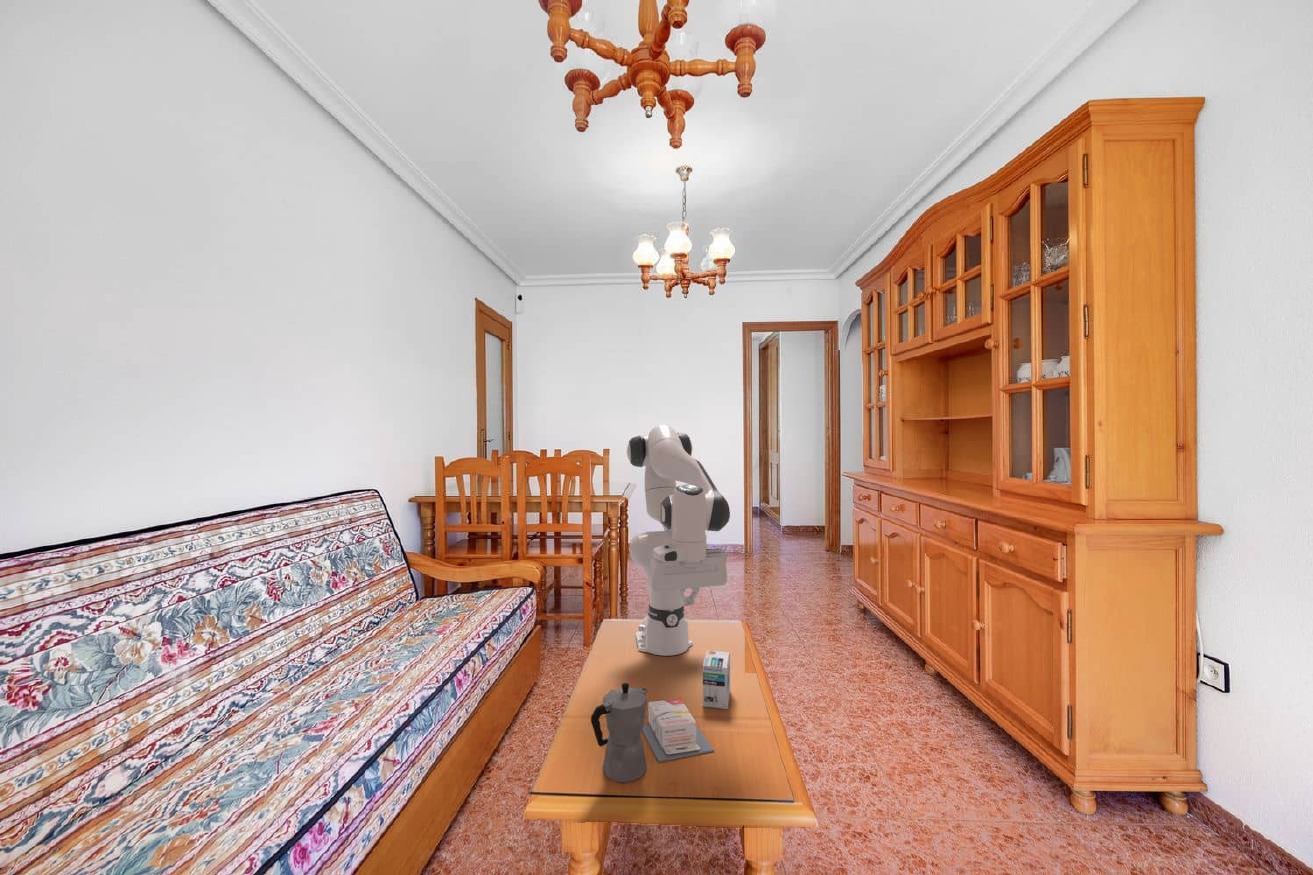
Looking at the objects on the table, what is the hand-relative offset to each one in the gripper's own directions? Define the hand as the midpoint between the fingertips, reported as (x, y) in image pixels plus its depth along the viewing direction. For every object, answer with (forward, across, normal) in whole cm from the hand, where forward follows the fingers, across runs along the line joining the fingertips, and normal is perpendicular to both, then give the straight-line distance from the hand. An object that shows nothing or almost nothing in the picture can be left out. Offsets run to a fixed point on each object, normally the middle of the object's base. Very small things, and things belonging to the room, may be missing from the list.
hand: (687, 604), depth 130 cm
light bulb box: (+28, -11, -5) cm, 31 cm away
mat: (+28, +6, +9) cm, 30 cm away
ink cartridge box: (+25, +6, +1) cm, 26 cm away
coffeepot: (+28, +21, +17) cm, 39 cm away
